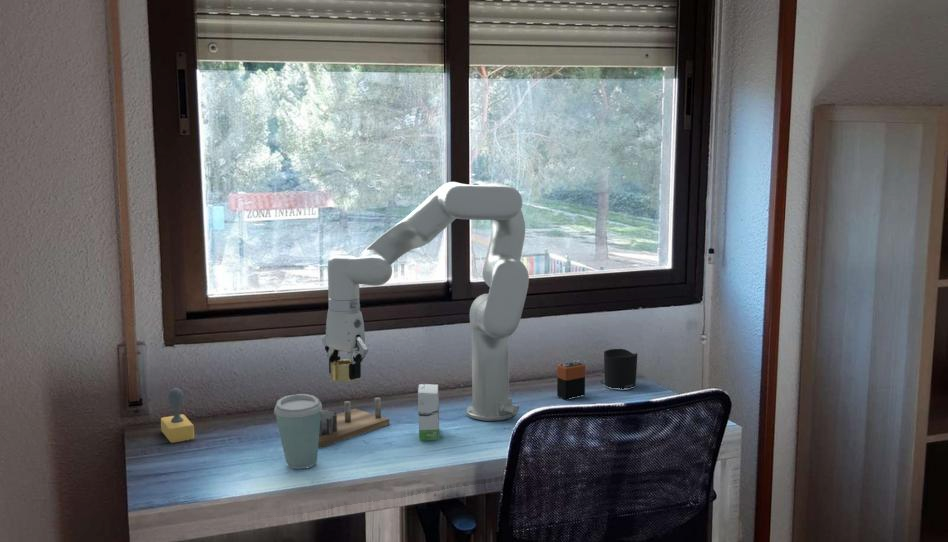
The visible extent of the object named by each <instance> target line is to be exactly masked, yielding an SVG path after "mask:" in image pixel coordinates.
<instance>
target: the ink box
mask: <svg viewBox="0 0 948 542" xmlns="http://www.w3.org/2000/svg"><path fill="white" fill-rule="evenodd" d="M439 403H440V399H439V384H429V383H421V384H418V388H417V406H418V407H417V408H418V412H417V414H418V415H417V416H418V418H417V419H418V438H419V441H439V440H440V404H439Z"/></svg>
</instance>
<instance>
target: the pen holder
mask: <svg viewBox="0 0 948 542" xmlns="http://www.w3.org/2000/svg"><path fill="white" fill-rule="evenodd" d="M603 364H604V365H603V367H604V370H603V371H604V386H605V385H606V386H608V387H611V388H620V389H621V388H622V389H624V388H631V387H634V386H635V387H636V384H637V370H638V369H637V367H638V352H636V353H632V352H631V351H629V350H627V349H624V348H611V349H607V350H604V352H603ZM606 386H605V387H606ZM635 387H634V388H635Z"/></svg>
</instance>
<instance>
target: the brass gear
mask: <svg viewBox="0 0 948 542" xmlns="http://www.w3.org/2000/svg"><path fill="white" fill-rule="evenodd" d="M350 363H351V361H350V358H349V359H348V358H343V359H341V358H340V360H334V361H333V362H331V374H330V379H332V381H334V382H342V383H345V382H350V381H352V382H354V381H356V380H357V379H353V380H351V379H350V378H349V364H350Z"/></svg>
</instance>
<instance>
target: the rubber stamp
mask: <svg viewBox="0 0 948 542" xmlns="http://www.w3.org/2000/svg"><path fill="white" fill-rule="evenodd" d="M167 399H168V402H169V405H170V407H171V408H172V411H173V414H174V415H171V416H170V415H169V416H164V417H161V418H160V428H161V429H160V430H161V432H162V433H163V435H164V436H165V438H166V439H167V440H168V441H169V443H172V444H175V443H178V442H179V443H180V442H186V441H191V440H194V439H195V426H194V424H193V423H192V422H191V421H190V419H189V418H188V417H187V416H186V415H185V414H182V413H181V414H180V410H181V407H182V404H183V400H184V393H183V391H182V390H181V389H180V388H178V387H174V388H171V389H170V390H169V392H168V398H167ZM190 439H191V440H190ZM185 440H186V441H185Z"/></svg>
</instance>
